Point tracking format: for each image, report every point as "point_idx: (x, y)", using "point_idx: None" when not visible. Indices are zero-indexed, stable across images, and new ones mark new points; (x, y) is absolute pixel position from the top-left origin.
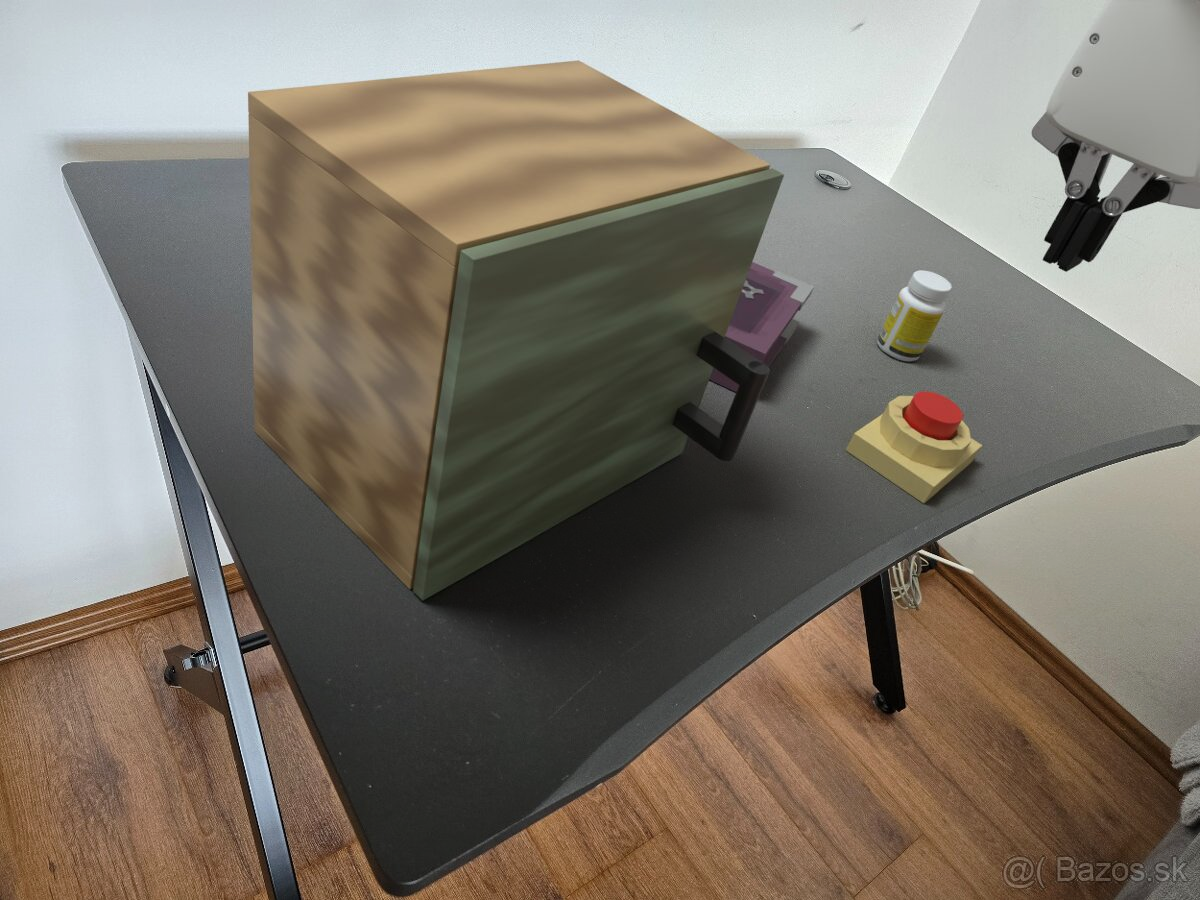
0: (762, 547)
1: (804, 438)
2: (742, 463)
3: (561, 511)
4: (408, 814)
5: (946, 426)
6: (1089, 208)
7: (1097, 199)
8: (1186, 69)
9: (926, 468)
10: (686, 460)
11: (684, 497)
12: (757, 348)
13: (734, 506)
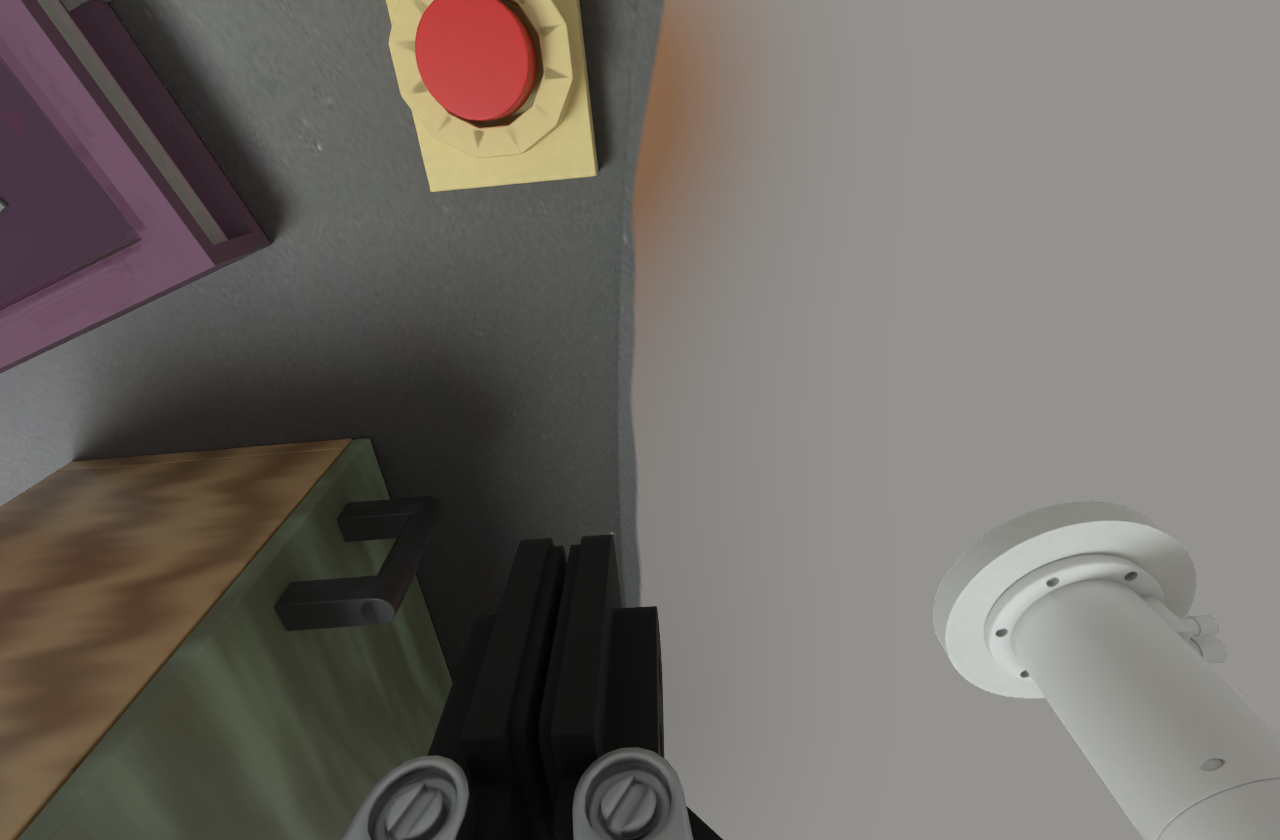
0: (545, 461)
1: (392, 232)
2: (411, 373)
3: (423, 623)
4: None
5: (523, 94)
6: (549, 819)
7: (509, 752)
8: None
9: (557, 140)
10: (382, 437)
11: (440, 482)
12: (195, 266)
13: (476, 442)
